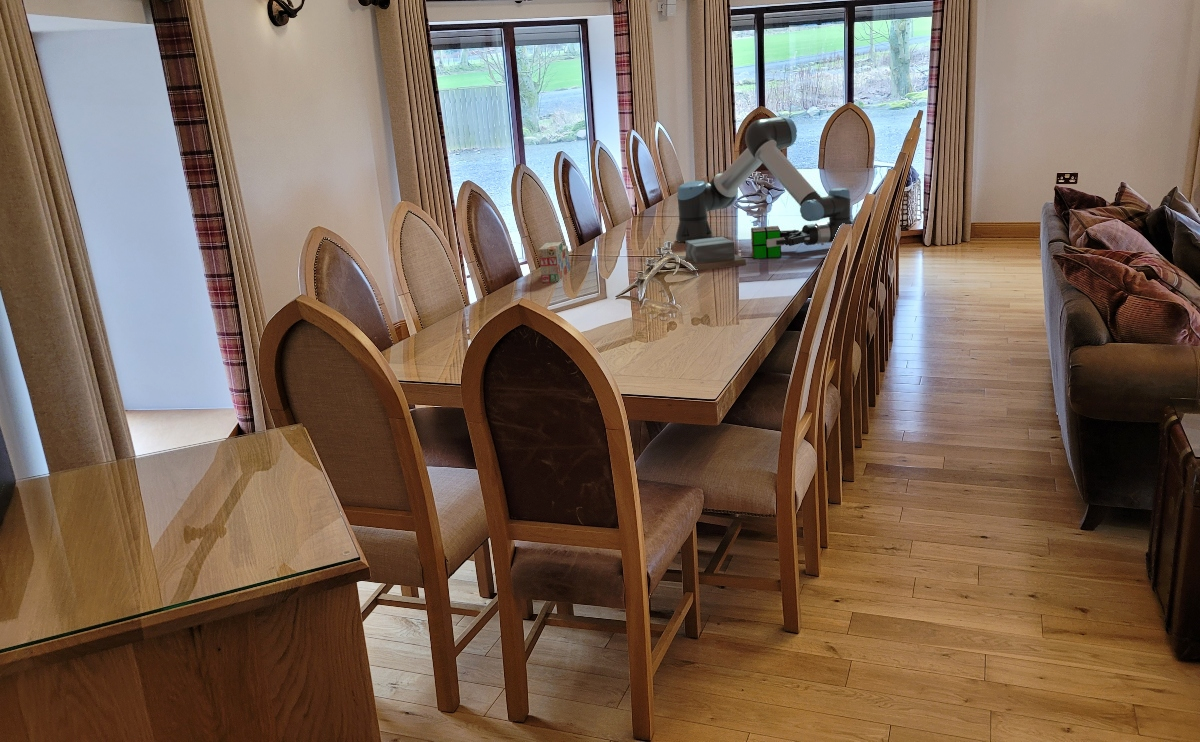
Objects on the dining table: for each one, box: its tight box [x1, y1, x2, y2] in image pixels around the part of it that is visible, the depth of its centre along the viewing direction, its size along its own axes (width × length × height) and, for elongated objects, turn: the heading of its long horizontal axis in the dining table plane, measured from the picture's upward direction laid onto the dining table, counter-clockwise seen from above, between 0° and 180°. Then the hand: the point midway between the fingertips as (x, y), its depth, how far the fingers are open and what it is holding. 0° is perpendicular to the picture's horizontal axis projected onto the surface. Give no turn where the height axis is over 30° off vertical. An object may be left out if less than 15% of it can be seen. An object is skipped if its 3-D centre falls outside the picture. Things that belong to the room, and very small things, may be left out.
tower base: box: [678, 236, 747, 271], centre depth 336 cm, size 20×20×8 cm
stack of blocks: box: [538, 241, 571, 283], centre depth 337 cm, size 21×6×12 cm, turn 171°
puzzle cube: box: [750, 225, 782, 260], centre depth 341 cm, size 10×10×10 cm
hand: (760, 240), depth 340 cm, fingers open, 13 cm apart
